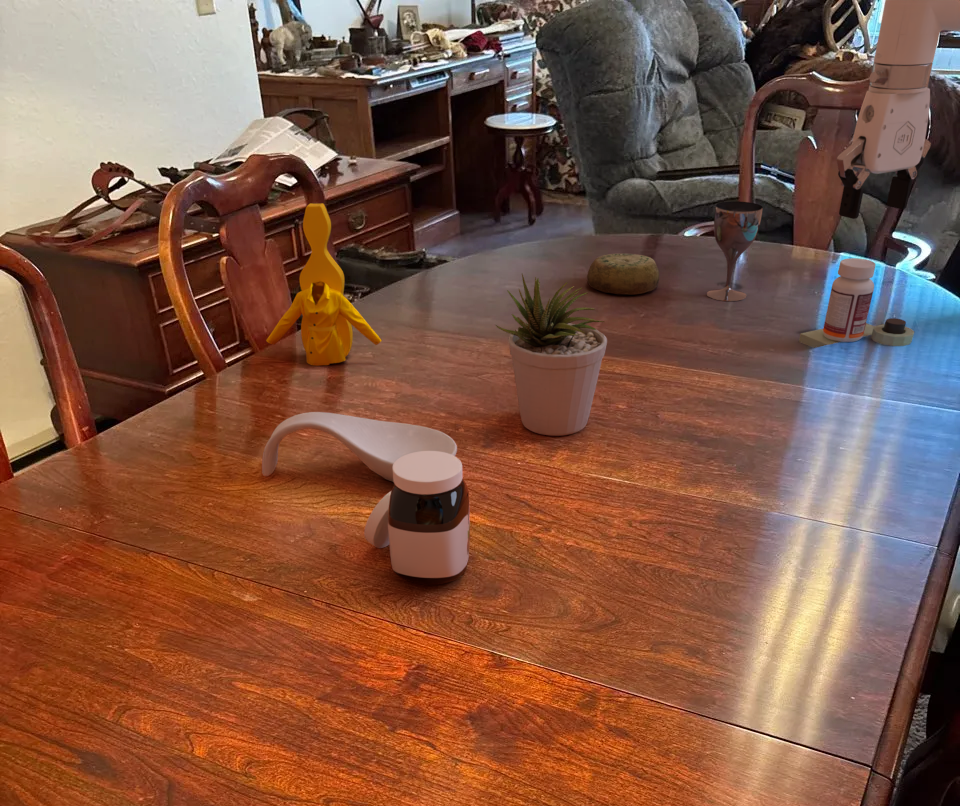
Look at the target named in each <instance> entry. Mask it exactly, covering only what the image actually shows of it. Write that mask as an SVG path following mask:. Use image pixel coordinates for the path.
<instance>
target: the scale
mask: <svg viewBox="0 0 960 806" xmlns="http://www.w3.org/2000/svg"><path fill="white" fill-rule="evenodd" d="M884 325H885V323H882V324H878V325H874V324H870V323H868V322H866V326H865V330H864V334H863V337H862V338H864V337H869V336H870V339H871V340H872V342H875V343H877V344H879V345H883V346H890V347H904V346H909V345H911V343H913V340H914V335H915V330H913V329H912V328H910V327H908V326H905V329H904V333H903V334H891V333H887V332H884V331H883V329H884ZM798 342H799V343H801V344H803V345H806V346H808V347H811V348H813V349H817V348H821V347H826V346H830V345H834V344H838V343H840V342H839V341H834V340H830V339H828V338H826V337H825V336H824V335H823V328H819V329H815V330H810V331H805V332H801V333H799V338H798Z"/></svg>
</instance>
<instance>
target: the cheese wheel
mask: <svg viewBox="0 0 960 806" xmlns="http://www.w3.org/2000/svg"><path fill="white" fill-rule="evenodd" d="M586 281H587V284H588V285H589V286H590V287H591V288H592V289H594V290H597V291H598V292H599V291H600V292H602V293H605V294H614V295H629V296H632V295H641V294H642V295H643V294H645V293H649V292H651V291H654V290H655V289H656V288H657V287H658V285H659V283H660V272H659V268H658V266H657V263H656V261H655V260H654V259H653V258H651V257H650V256H647V255H643V254H638V253H609V254H603V255H600V256H597V257H596V258H595V259H594V260H593V261H592V262H591V264H590V265H589V268H588V271H587V274H586Z"/></svg>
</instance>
